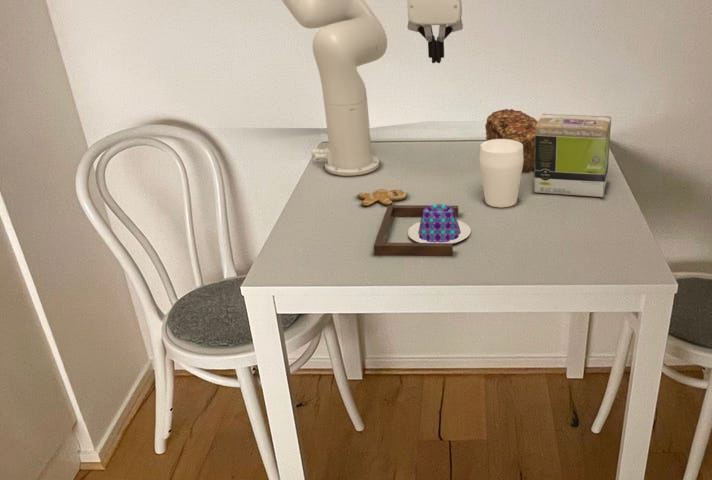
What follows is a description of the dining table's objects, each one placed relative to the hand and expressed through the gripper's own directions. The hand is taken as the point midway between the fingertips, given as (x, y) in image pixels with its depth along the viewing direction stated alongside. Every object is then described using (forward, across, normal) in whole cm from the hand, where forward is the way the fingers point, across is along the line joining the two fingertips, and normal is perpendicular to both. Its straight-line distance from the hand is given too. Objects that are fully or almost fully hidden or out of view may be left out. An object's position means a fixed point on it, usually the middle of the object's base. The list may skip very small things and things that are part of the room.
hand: (436, 61), depth 150 cm
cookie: (+27, +12, +5) cm, 30 cm away
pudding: (+27, -1, +22) cm, 35 cm away
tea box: (+27, -28, -2) cm, 39 cm away
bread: (+27, -17, -20) cm, 38 cm away
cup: (+27, -13, +6) cm, 31 cm away
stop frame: (+27, +3, +22) cm, 35 cm away
